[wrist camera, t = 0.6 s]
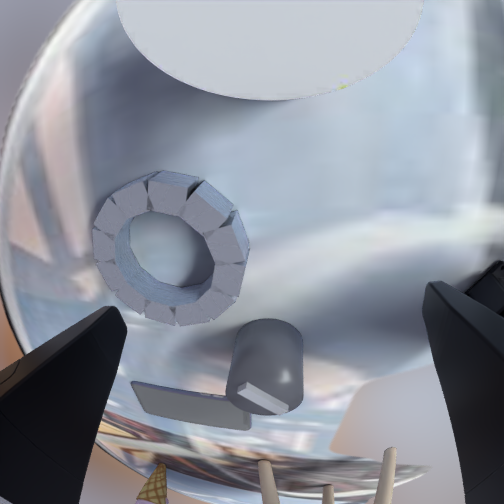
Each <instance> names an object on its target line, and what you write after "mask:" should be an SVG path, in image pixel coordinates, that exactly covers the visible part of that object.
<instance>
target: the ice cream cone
mask: <svg viewBox="0 0 504 504" xmlns="http://www.w3.org/2000/svg"><path fill="white" fill-rule="evenodd" d="M168 503H169V502H168V499H167V483H166V465H165V464H162V463H159V465H158V466H157V468H156V469H155V470H154V472H153V473H152V475H151V476H150V477H149V479H148V481H147V482H146V483H145V485H144V487H143V488H142V490H141V491H140V493H139V495H138V497H137V501H136V503H135V504H168Z"/></svg>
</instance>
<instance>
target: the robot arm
mask: <svg viewBox="0 0 504 504" xmlns="http://www.w3.org/2000/svg"><path fill="white" fill-rule="evenodd" d="M422 313H423V318H424V322H425V326H426V330H427V334H428V339H429V343H430V347H431V352H432V357H433V361H434V364H435V368H436V371H437V374H438V377H439V381H440V384H441V387H442V391H443V394H444V398H445V401H446V405H447V409H448V412H449V416H450V420H451V424H452V429H453V433H454V437H455V442H456V447H457V451H458V456H459V462H460V467H461V473H462V479H463V486H464V493H465V503H466V504H504V261H500V262H499V263H498V264H497V265H496V266H495V267H494V268H493V269H492V270H490V271H489V272H488V273H487V274H486V275H485V276H484V277H483V278H482V279H481V280H479V281H478V282H477V283H476V284H475V285H474V286H473V287H471V288H470V289H469V290H468V291H467V292H466V293H464V294H463V293H462V292H460V291H458V290H457V289H455V288H453V287H451V286H450V285H448V284H446V283H444V282H443V281H434V282H429V283H428V284H427V286H426V290H425V296H424V301H423V307H422ZM126 335H127V326H126V324H125V322H124V320H123V318H122V316H121V314H120V312H119V310H118V309H117V308H116V307H115V306H104V307H102V308H100V309H99V310H97V311H95V312H94V313H92V314H90V315H89V316H87V317H86V318H84V319H82V320H81V321H79V322H77V323H76V324H74V325H73V326H71V327H69V328H68V329H66V330H65V331H63V332H61V333H60V334H58V335H57V336H55V337H53V338H52V339H50V340H49V341H47V342H45V343H44V344H42V345H41V346H39V347H38V348H36V349H34V350H33V351H31V352H30V353H28V354H27V355H25V356H23V357H22V358H21V359H19V360H17V361H16V362H14V363H13V364H11V365H9V366H8V367H6V368H5V369H3V370H2V371H0V504H79V500H80V495H81V492H82V487H83V482H84V478H85V475H86V471H87V467H88V463H89V459H90V456H91V452H92V448H93V445H94V442H95V438H96V435H97V432H98V428H99V425H100V422H101V419H102V415H103V412H104V409H105V406H106V403H107V400H108V397H109V394H110V391H111V388H112V385H113V382H114V380H115V376H116V373H117V370H118V366H119V362H120V358H121V354H122V350H123V347H124V343H125V339H126Z"/></svg>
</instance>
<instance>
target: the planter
mask: <svg viewBox="0 0 504 504" xmlns="http://www.w3.org/2000/svg"><path fill="white" fill-rule="evenodd" d="M395 465H396V448H395V447H391V448H388V449H386V450H385V451H384V457H383V462H382V468H381V473H380V478H379V483H378V487H377V492H376V496H375V500H374V504H391V500H392V493H393V485H394V475H395ZM258 467H259V477H260V485H261V493H262V501H263V504H280V501H279V497H278V493H277V489H276V485H275V480H274V476H273V472H272V467H271V463H270V462H269V461H266V460H261V461H259V462H258ZM322 504H334V491H333V486H332V485H326V486H324V487H323V499H322Z"/></svg>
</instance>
